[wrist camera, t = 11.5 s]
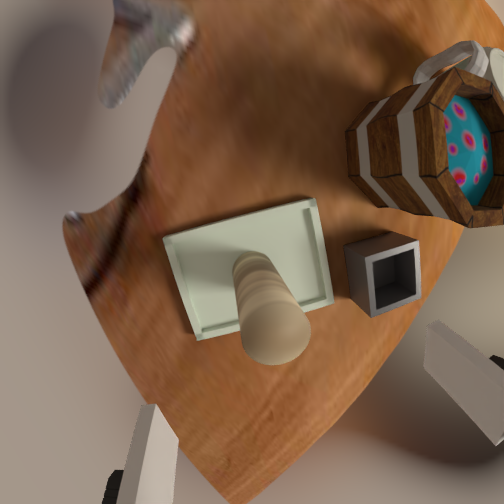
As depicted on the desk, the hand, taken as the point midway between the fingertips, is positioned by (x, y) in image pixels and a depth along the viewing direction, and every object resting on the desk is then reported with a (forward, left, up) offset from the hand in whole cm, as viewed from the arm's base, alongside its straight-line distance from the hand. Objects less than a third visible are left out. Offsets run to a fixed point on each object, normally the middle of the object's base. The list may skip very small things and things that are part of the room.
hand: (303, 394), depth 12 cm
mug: (-11, +21, -21) cm, 32 cm away
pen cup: (+4, +14, -21) cm, 25 cm away
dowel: (0, 0, -20) cm, 20 cm away
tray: (0, 0, -21) cm, 21 cm away
